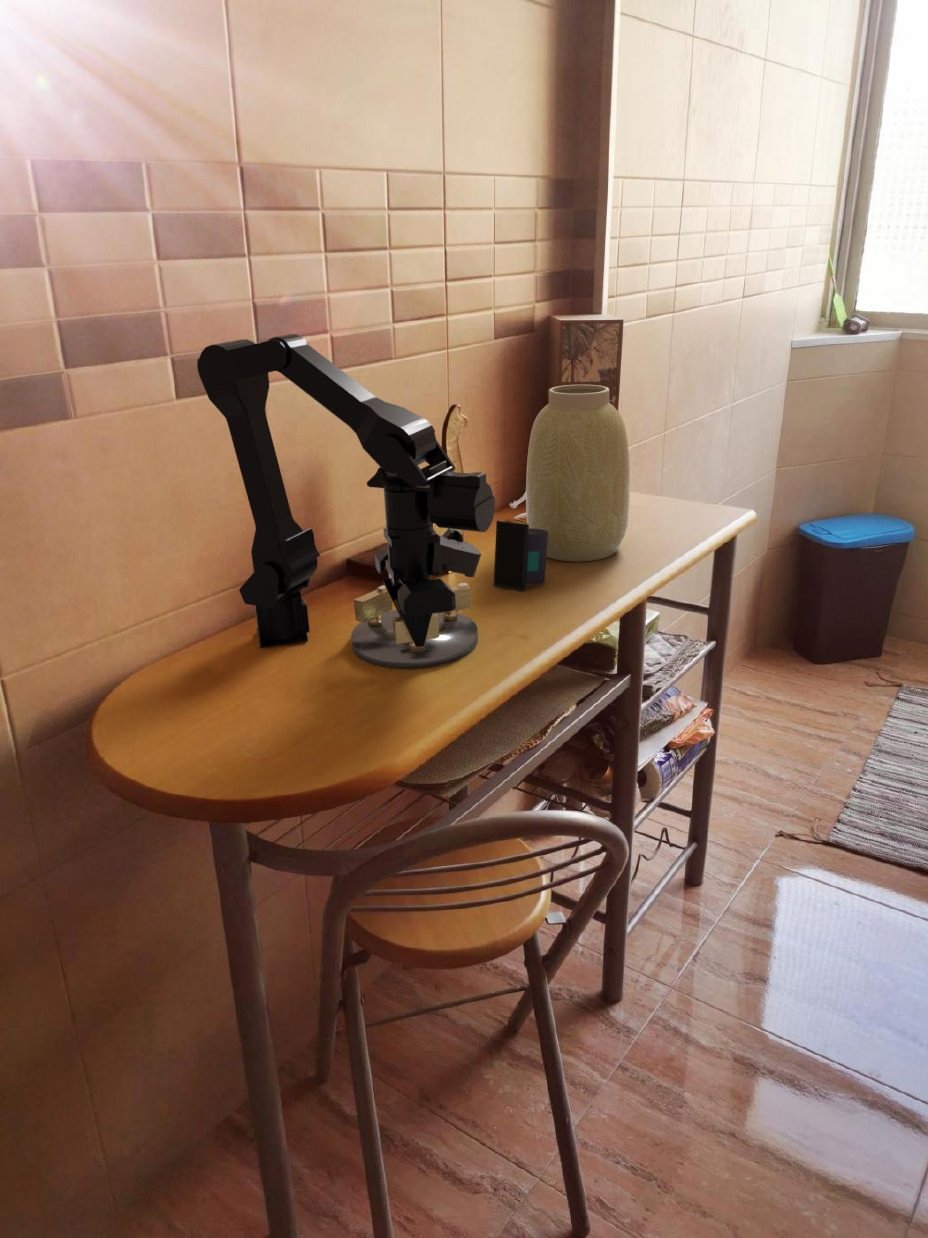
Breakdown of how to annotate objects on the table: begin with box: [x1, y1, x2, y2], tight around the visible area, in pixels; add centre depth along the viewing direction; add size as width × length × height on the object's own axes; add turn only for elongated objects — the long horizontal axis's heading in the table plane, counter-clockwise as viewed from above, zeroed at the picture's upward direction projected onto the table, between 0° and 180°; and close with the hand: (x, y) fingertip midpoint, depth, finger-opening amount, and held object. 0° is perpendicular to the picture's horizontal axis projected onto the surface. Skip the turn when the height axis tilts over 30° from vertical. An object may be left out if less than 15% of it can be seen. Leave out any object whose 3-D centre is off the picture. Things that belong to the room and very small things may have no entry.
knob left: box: [353, 584, 394, 628], centre depth 126 cm, size 6×2×5 cm, turn 141°
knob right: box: [436, 582, 472, 622], centre depth 127 cm, size 6×2×5 cm, turn 106°
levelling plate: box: [350, 609, 479, 670], centre depth 125 cm, size 17×17×2 cm
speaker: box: [493, 520, 548, 593], centre depth 142 cm, size 8×6×10 cm
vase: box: [525, 384, 631, 562], centre depth 154 cm, size 17×17×27 cm
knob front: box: [392, 613, 439, 652], centre depth 118 cm, size 6×2×5 cm, turn 106°
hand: (416, 640), depth 119 cm, fingers open, 3 cm apart
